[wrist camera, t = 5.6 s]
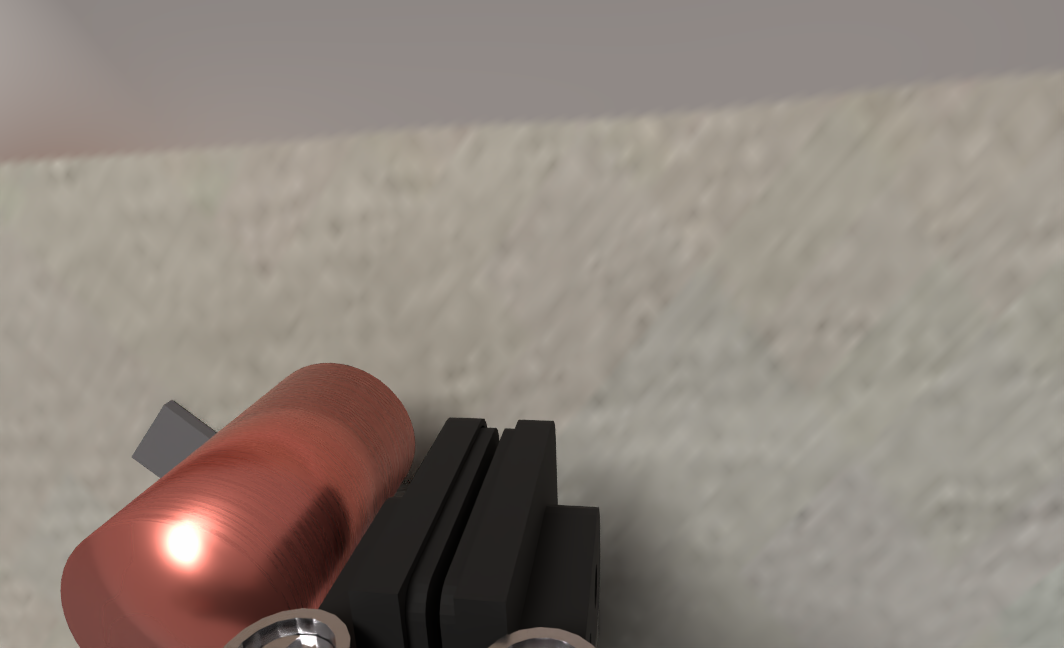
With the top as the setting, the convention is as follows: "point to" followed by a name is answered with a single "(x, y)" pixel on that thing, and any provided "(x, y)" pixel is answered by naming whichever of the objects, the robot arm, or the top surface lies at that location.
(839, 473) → the top surface
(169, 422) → the dark grey square block
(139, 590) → the red knob control stick
